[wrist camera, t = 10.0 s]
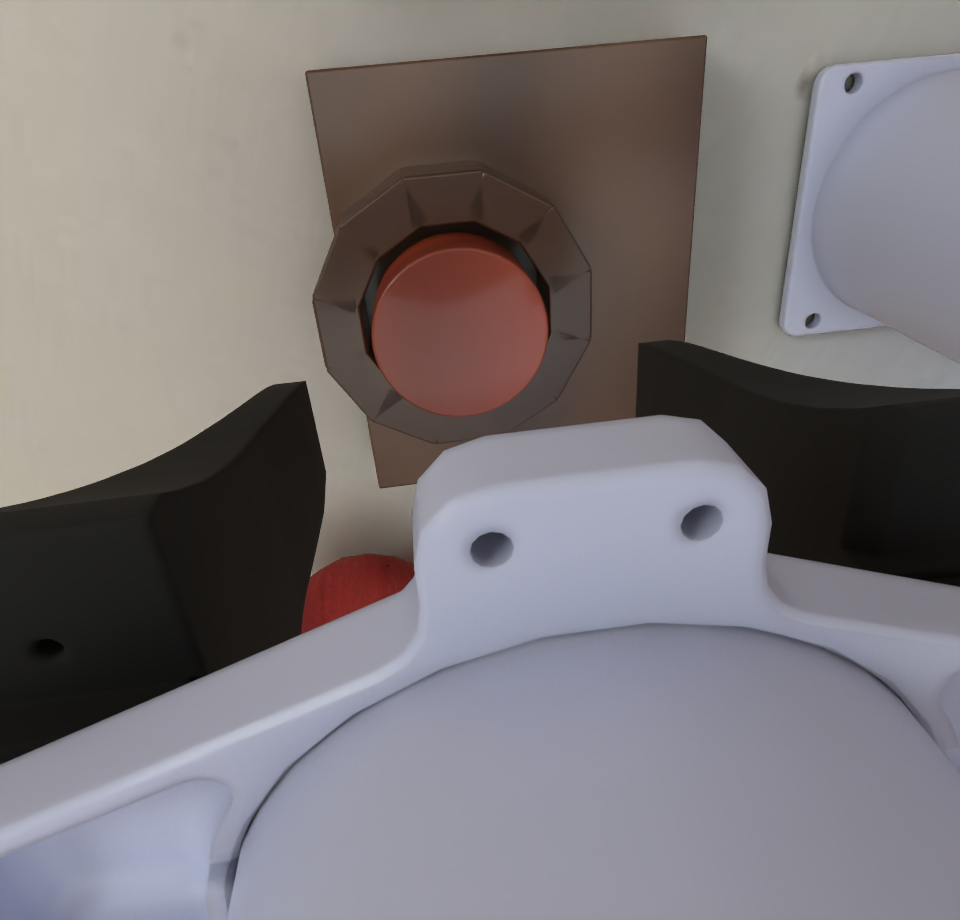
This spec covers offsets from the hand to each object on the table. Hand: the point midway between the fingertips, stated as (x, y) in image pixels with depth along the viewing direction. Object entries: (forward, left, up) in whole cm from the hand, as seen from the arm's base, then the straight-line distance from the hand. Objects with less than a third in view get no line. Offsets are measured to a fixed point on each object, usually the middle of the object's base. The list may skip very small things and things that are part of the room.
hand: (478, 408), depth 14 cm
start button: (0, 0, -6) cm, 6 cm away
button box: (-2, 0, -9) cm, 10 cm away
